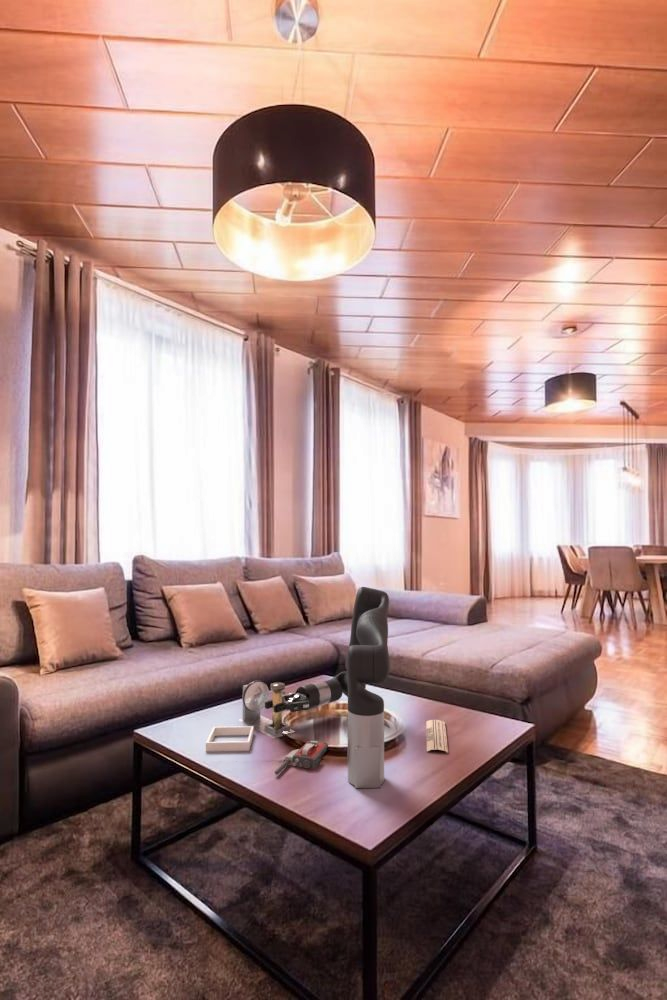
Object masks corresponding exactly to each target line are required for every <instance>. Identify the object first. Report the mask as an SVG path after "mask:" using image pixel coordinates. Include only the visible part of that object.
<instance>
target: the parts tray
mask: <svg viewBox="0 0 667 1000" xmlns="http://www.w3.org/2000/svg"><path fill="white" fill-rule="evenodd" d="M254 731H255V728H254V726H249V725H247V726H246V725H245V726H244V725H243V726H242V725H239V726H213V727H212V729H211V732H210V733H209V736H208V738H207V740H206V742H205V752H249V751H250V749H251V745H252V741H253V738H254V734H255V732H254ZM216 736H218V737H219V736H248V737H247V741H246V740H244V741H243V740H242V741H241V740H240V741H236V740H235V741H214V739H215V737H216Z"/></svg>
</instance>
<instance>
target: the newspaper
mask: <svg viewBox="0 0 667 1000" xmlns="http://www.w3.org/2000/svg"><path fill="white" fill-rule="evenodd" d="M425 722H426V727H425V729H426V752H427V753H430V751H436V750H439V751H442V752H445V753H446V754H448V753H449V747H448V739H447V729H446V722H445V721H444V720H439V719H429V720H427V721H425Z"/></svg>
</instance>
